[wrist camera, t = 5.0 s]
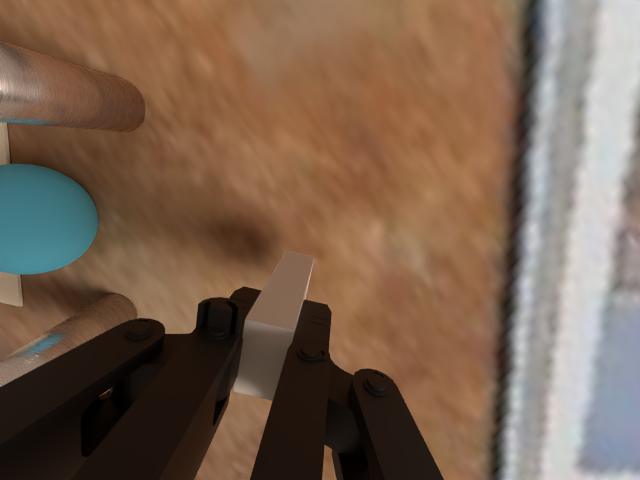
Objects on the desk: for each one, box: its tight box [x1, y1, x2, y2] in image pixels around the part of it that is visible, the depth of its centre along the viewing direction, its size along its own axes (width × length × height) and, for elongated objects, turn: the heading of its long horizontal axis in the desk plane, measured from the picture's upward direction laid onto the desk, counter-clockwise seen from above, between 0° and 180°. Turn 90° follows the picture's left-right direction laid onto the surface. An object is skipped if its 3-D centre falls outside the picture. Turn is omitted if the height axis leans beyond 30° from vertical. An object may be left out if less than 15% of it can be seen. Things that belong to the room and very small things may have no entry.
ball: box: [0, 164, 98, 274], centre depth 15 cm, size 6×6×6 cm
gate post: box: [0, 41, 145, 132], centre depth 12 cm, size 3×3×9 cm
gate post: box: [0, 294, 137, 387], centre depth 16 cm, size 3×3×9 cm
